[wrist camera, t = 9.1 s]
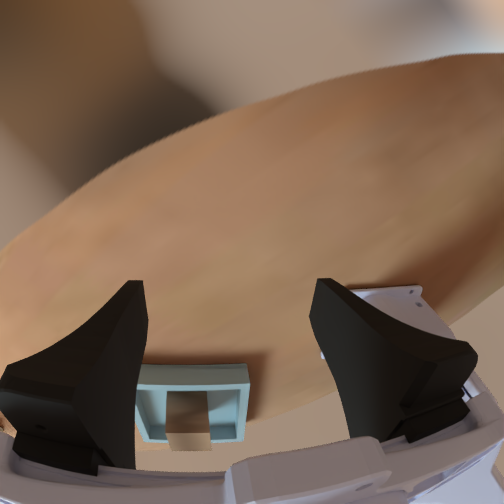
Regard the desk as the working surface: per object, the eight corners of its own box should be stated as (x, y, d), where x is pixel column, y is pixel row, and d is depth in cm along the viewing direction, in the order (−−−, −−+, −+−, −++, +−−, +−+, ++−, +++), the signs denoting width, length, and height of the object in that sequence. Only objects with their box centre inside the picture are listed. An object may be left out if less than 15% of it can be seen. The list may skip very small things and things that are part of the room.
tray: (246, 363, 27) (250, 383, 25) (240, 424, 32) (243, 441, 30) (124, 363, 25) (120, 383, 23) (145, 424, 31) (144, 441, 28)
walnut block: (206, 391, 28) (209, 432, 23) (208, 411, 29) (211, 450, 25) (166, 391, 27) (165, 433, 23) (171, 412, 29) (171, 450, 24)
